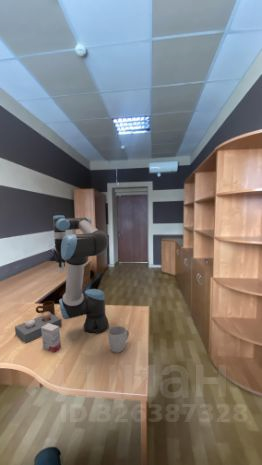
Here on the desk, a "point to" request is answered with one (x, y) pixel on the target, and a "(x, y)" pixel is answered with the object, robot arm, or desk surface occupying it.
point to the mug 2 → (117, 338)
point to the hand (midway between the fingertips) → (62, 271)
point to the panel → (35, 328)
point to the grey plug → (30, 323)
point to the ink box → (51, 337)
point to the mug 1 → (47, 307)
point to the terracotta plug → (46, 316)
